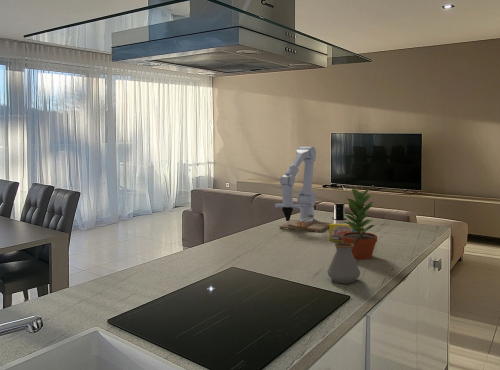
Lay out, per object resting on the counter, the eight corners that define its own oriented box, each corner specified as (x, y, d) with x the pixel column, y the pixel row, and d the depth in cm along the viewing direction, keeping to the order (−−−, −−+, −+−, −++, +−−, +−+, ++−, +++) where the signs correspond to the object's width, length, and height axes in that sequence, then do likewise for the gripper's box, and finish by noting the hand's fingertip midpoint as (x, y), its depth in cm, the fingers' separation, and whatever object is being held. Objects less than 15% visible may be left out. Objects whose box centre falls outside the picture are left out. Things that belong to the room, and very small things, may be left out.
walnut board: (292, 222, 265) (292, 219, 265) (332, 225, 254) (332, 222, 254) (279, 228, 248) (279, 225, 248) (321, 232, 237) (321, 229, 237)
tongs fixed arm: (308, 221, 260) (308, 214, 259) (315, 221, 258) (315, 214, 257) (297, 226, 244) (297, 219, 244) (304, 227, 243) (304, 220, 242)
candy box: (328, 241, 219) (328, 224, 218) (329, 240, 221) (329, 223, 220) (363, 242, 214) (363, 225, 213) (363, 241, 216) (363, 224, 215)
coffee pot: (350, 287, 153) (350, 244, 151) (321, 280, 160) (321, 239, 159) (378, 272, 169) (378, 233, 167) (350, 266, 176) (351, 229, 175)
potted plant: (338, 251, 199) (339, 183, 195) (374, 251, 197) (375, 183, 194) (341, 261, 184) (342, 188, 181) (380, 261, 182) (381, 187, 179)
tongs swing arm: (305, 222, 256) (305, 217, 256) (308, 222, 255) (308, 217, 255) (296, 226, 245) (296, 221, 244) (300, 226, 244) (300, 222, 243)
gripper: (272, 197, 250) (273, 221, 252) (297, 198, 244) (297, 223, 245) (277, 195, 257) (278, 218, 258) (301, 196, 250) (302, 220, 252)
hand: (287, 220), depth 252 cm, fingers closed
